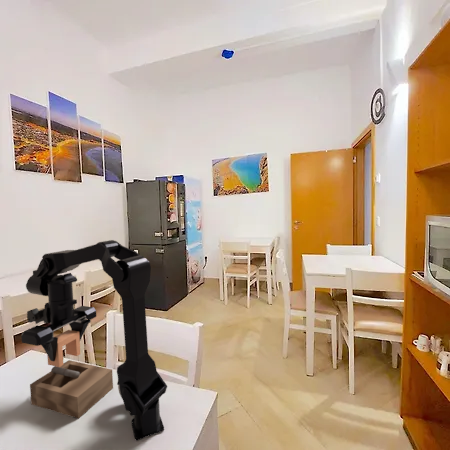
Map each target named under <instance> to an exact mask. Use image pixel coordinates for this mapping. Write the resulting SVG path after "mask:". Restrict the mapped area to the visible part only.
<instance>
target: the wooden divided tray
mask: <svg viewBox="0 0 450 450" xmlns="http://www.w3.org/2000/svg"><path fill="white" fill-rule="evenodd" d="M113 376H114V375H113V369H111V368H107V367H103V366H98V365H92V364H89V363H83V362H79V361H74V360H67V361H66V362H63V365H62V366H61V367H56V366H53V367H52V368H51V370H50V371H48V373H46V374H45V375H43V376H40V377H39V378H38V379H36V380H35V381H33V382H32V383H29V388H30V389H29V390H30V404H31V405H32V406H35V407H39V408H42V409H46V410H48V411H51V412H54V413H55V412H56V413H59V414H62V415H65V416H69V417H72V418H75V419H77V420H78V419H80V418H82V416H84V415H85V414H86V413H87V412H88V411H89V410H90V409H92V408H93V407H94V406H95V405H96V404H97V403H99V401H100V400H102V399H103V398H104V397H105V396H106V395H107V394H109V393H110V392H111V391H112V390H113V389H114V380H113V379H114V378H113Z"/></svg>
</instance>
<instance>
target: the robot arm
mask: <svg viewBox="0 0 450 450" xmlns="http://www.w3.org/2000/svg"><path fill="white" fill-rule="evenodd" d="M113 257H114V258H115V259H117V261H116V260H114V259H113ZM97 260H99V261H100V262H101V263H100V264H101V266H102V270H103V272H105V274H107V275H108V276H109V277H110V278H111V279H112V286H113V288H114V290H115V291H116V292H117V294H118V295H119V296H120V298H121V303H122V304H121V305H122V317H123V318H122V319H123V333H124V335H123V336H124V348H125V361H124V362H123V363H121V364H120V365H118V366H117V369H116V373H117V374H116V375H117V384H116V385H117V386H118V385H119V388H120V392H121V396H122V398H121V399H122V401H123V406H124V409H125V411H128V412H129V414H130V416H133V418H132V419H131V422H130V423H131V426H132V427H131V428H132V431H133V432H132V433H133V436H134V440H135V441H139V440H142V439H144V438H147V437H150V436H154V435H155V434H159V433H161V432H163V431H164V430H165V426H164V423H163V420H162V417H161V414H160V412H161V411H160V398H161V397H162V396H163V395H165V393H166V392H167V388H168V385H167V383H166V381H164V379H163V378H162V376H161V375H160V374H159V372H158V371H157V370H158V369H157V366H156V361H155V360H154V359H153V358H152V356H151V355H150V354H149V348H148V347H149V346H148V331H147V328H148V327H147V314H146V313H147V312H146V302H145V297H146V296H145V294H146V292H147V289H148V287H149V284H150V281H151V271H152V270H151V269H152V267H151V263H150V261H149V260H148V259H147V258H146V257H144V256H143V255H141V254H139V253H138V252H137V251H135V250H133V249H131V248H129V247H126V246H124V245H122V244H121V243H120V242H118V241H117V240H114V239H110V240H103V241H99V242H97V243H96V244H92V245H88V246H86V247H81V248H78V249H67V250H61V251H55V252H49V253H43V255H42V257H41V260H40V262H39V264H38V266H37V269H36V270H33V271H32V275H31V276H30V277H29V278H28V279H27V281H26V284H25V289H26V290H27V292H29V293H30V294H31V295H32V294H33V295H38V296H43V297H48V302H46V303H44V307H43V308H42V309H38V308H33V309H29V310H28V311H27V312H26V318H27V321H28V323H30V324H31V323H35V326H33V327H31V328H28V329H25V330H24V331H23V332H22V333H21V336H20V337H21V339H20V340H21V343H22V344H27V345H32V346H37V347H38V346H41V347H42V348H43V350H44V351H45V353H46V355H48V356H47V358H48V357H49V358H50V360H51V361H55V358H56V351H57V342H58V338H57V337H55V336H54V332H55V331H57V330H59V329H61V328H64V327H65V326H68V325H69V327H70V330H72V331H78V332H79V335H80V341H81V340H82V337H83V335H84V333H85V331H86V329H87V327H88V326H89V324H90V323H91V320H92V319H95V318H96V317H97V310H96V308H95V307H94V306H93V307H92V306H86V305H81V306H78V307H76V308H75V307H74V305H76V304H78V300H77V299H74V292H73V291H74V289H73V283H75V282H77V281H78V278H77V277H76V276H75V275H73V274H72V273H71V272H70V271H73V270H75V269H76V268H79V267H80V265H83V264H85V263H89V262H94V261H97ZM67 272H69V273H67ZM41 322H43V323H44V324H49V325H47V326H43V325H38V324H40V323H41ZM121 396H120V397H121Z"/></svg>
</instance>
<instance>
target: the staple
mask: <svg viewBox="0 0 450 450" xmlns="http://www.w3.org/2000/svg"><path fill="white" fill-rule="evenodd" d="M54 337H57V338H58V342H57V351H56V358H55V361H51V360H50V358H49V357H48V355H47V354H46V355H47V365H49V366H53V367H54V366H56V367H61V366H62V365H63V363H64V355H63V354H64V352H63V351H64V350H63V347H64V346H65V354H66V355H69V356H75V357H78V356H79V355H81V340H80V335H79V332H78V331H72V330H71V329H68V330H67V329H66V330H65V331H63V332H61V333H59V334H57V335H55V336H54Z"/></svg>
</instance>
